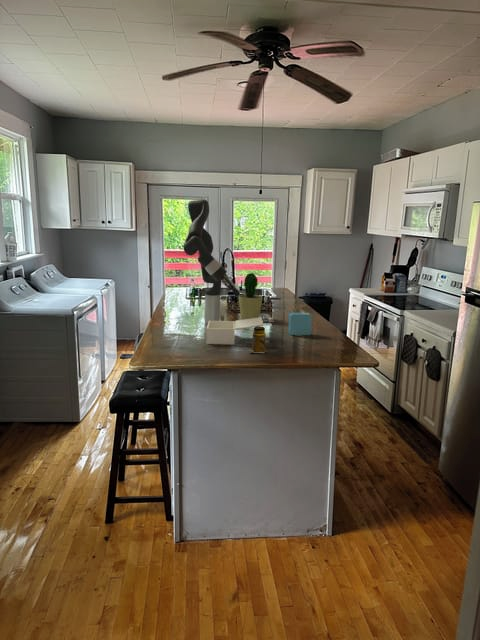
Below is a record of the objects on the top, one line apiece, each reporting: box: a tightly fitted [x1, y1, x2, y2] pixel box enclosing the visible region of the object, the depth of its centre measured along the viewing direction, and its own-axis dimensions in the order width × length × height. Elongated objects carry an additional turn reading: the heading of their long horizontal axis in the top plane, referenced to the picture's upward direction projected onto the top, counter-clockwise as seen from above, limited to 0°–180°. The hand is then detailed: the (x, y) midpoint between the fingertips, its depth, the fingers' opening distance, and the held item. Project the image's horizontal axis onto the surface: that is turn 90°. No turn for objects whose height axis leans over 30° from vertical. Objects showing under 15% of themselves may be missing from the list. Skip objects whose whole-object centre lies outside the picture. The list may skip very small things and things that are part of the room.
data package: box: [288, 312, 313, 337], centre depth 248 cm, size 12×4×12 cm, turn 95°
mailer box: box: [206, 320, 236, 345], centre depth 234 cm, size 14×18×8 cm
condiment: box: [251, 326, 266, 352], centre depth 213 cm, size 7×8×12 cm
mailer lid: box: [235, 316, 265, 331], centre depth 233 cm, size 14×18×1 cm
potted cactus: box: [238, 272, 264, 320], centre depth 283 cm, size 15×15×30 cm
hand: (238, 294), depth 230 cm, fingers closed
